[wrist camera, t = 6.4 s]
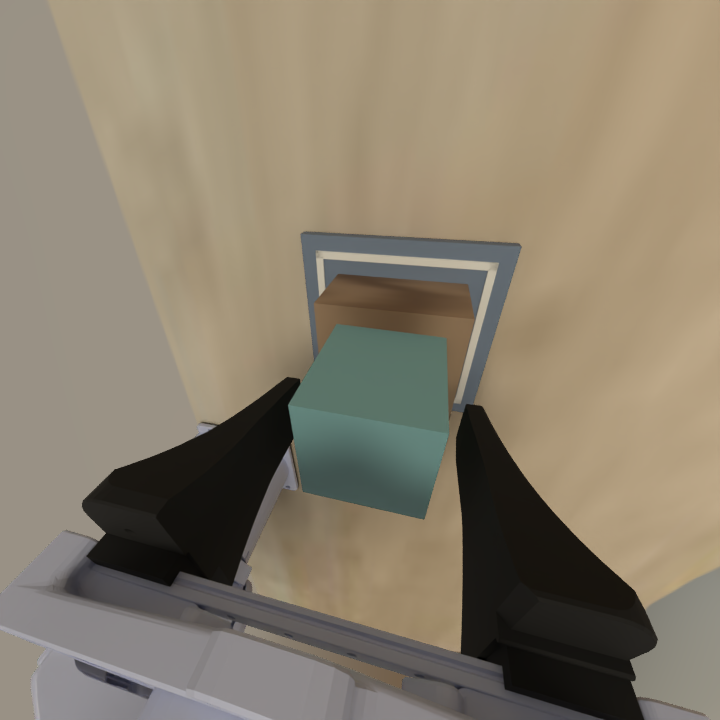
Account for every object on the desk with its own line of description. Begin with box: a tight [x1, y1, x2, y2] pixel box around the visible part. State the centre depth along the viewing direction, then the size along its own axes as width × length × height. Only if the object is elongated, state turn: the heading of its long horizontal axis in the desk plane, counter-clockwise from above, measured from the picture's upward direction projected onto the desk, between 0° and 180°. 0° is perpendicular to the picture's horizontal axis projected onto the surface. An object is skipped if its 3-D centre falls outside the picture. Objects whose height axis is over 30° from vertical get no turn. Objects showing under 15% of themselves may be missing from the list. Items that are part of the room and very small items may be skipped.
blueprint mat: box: [301, 232, 521, 412], centre depth 18 cm, size 11×11×1 cm
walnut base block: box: [314, 274, 475, 419], centre depth 16 cm, size 7×7×4 cm
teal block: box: [288, 324, 449, 519], centre depth 13 cm, size 5×5×6 cm
